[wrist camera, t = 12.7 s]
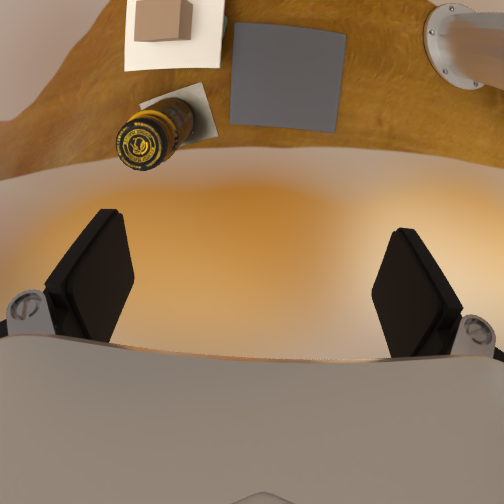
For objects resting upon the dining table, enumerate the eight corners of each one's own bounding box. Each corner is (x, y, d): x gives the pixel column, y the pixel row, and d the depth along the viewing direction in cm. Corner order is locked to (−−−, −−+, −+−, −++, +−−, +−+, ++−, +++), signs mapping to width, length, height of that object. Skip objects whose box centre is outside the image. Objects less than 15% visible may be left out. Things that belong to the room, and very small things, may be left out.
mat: (345, 34, 29) (346, 34, 29) (333, 132, 37) (334, 133, 36) (234, 22, 29) (234, 22, 29) (229, 123, 37) (229, 124, 36)
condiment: (139, 103, 35) (97, 126, 25) (201, 82, 34) (177, 94, 24) (158, 153, 39) (124, 191, 29) (218, 135, 38) (202, 168, 28)
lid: (227, -20, 22) (220, -35, 17) (220, 67, 28) (211, 70, 23) (131, -13, 21) (108, -22, 17) (127, 70, 27) (103, 75, 23)
